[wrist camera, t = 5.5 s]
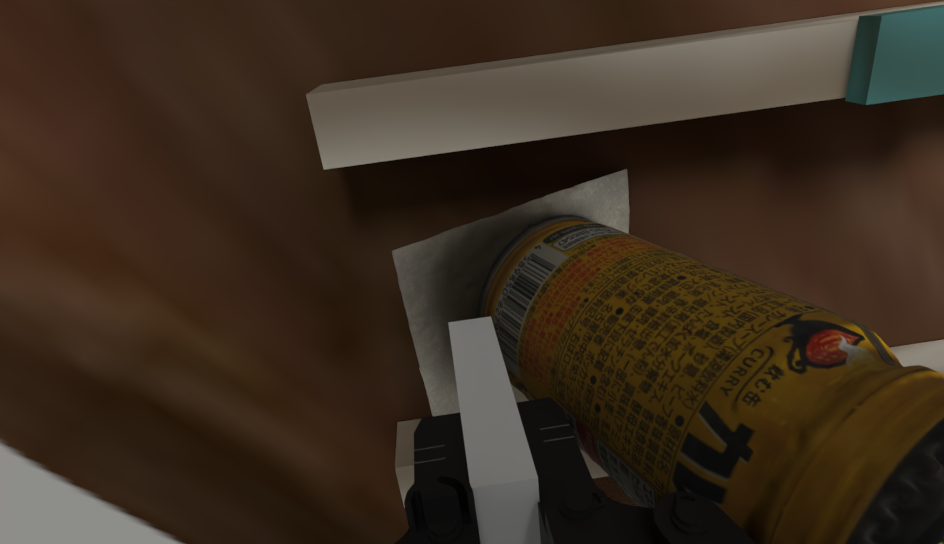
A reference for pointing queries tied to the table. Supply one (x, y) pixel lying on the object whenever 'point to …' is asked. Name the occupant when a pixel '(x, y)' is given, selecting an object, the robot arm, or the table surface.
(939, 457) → the condiment
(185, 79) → the table surface
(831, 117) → the table surface
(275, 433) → the table surface
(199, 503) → the table surface
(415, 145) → the rail track
